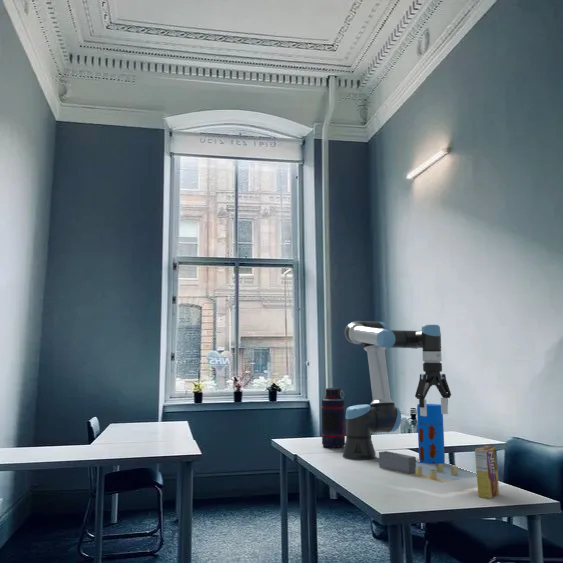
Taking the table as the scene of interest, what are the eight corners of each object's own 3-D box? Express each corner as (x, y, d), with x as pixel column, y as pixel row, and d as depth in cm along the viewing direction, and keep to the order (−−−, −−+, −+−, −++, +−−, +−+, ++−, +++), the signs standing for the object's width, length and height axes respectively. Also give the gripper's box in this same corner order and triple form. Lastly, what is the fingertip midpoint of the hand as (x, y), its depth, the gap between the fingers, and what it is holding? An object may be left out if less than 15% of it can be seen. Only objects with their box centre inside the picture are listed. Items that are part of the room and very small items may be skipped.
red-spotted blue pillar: (446, 466, 219) (443, 405, 223) (420, 465, 222) (417, 405, 225) (443, 462, 230) (441, 404, 234) (418, 461, 232) (416, 403, 236)
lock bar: (379, 467, 213) (378, 452, 214) (386, 466, 215) (385, 451, 216) (409, 474, 200) (408, 457, 200) (416, 473, 202) (415, 456, 203)
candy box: (486, 491, 176) (483, 445, 179) (499, 493, 174) (496, 446, 176) (476, 496, 170) (474, 448, 172) (490, 499, 167) (487, 449, 169)
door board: (378, 470, 212) (378, 467, 212) (415, 464, 224) (415, 461, 224) (442, 485, 186) (442, 482, 186) (480, 477, 198) (480, 475, 198)
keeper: (415, 475, 197) (415, 467, 198) (440, 471, 205) (440, 463, 206) (432, 479, 191) (432, 470, 191) (457, 474, 199) (457, 466, 199)
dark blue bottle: (338, 449, 263) (338, 388, 268) (318, 447, 269) (317, 388, 274) (350, 445, 275) (349, 387, 279) (330, 443, 281) (329, 387, 286)
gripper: (420, 362, 205) (421, 417, 202) (458, 362, 219) (460, 413, 216) (405, 362, 211) (406, 415, 208) (443, 362, 225) (445, 412, 222)
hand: (434, 415), depth 212 cm, fingers open, 13 cm apart
